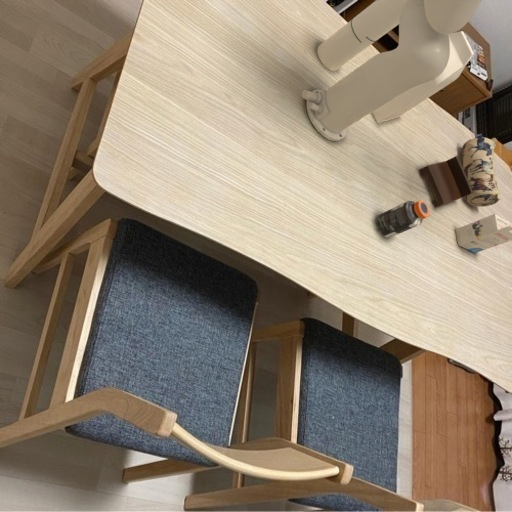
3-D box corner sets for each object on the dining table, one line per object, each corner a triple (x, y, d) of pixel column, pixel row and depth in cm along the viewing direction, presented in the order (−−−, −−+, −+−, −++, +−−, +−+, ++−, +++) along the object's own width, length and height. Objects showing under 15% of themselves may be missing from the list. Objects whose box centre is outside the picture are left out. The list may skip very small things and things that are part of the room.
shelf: (434, 208, 151) (454, 199, 146) (418, 170, 151) (437, 160, 147) (454, 201, 159) (473, 192, 155) (438, 164, 160) (457, 155, 156)
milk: (398, 117, 154) (487, 64, 135) (377, 123, 145) (469, 68, 127) (379, 76, 154) (465, 18, 135) (357, 81, 145) (445, 19, 127)
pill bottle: (391, 242, 133) (433, 225, 125) (374, 231, 130) (416, 213, 122) (392, 221, 136) (432, 203, 128) (375, 209, 133) (416, 191, 125)
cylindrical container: (338, 75, 140) (424, 14, 123) (317, 62, 136) (403, -4, 119) (337, 53, 143) (420, -11, 126) (316, 39, 139) (400, -28, 122)
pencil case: (455, 142, 171) (485, 127, 164) (471, 155, 176) (501, 141, 169) (461, 204, 161) (493, 190, 154) (478, 215, 166) (510, 203, 159)
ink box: (472, 237, 159) (523, 218, 149) (474, 253, 157) (526, 235, 147) (454, 228, 154) (506, 208, 144) (457, 245, 152) (509, 226, 142)
